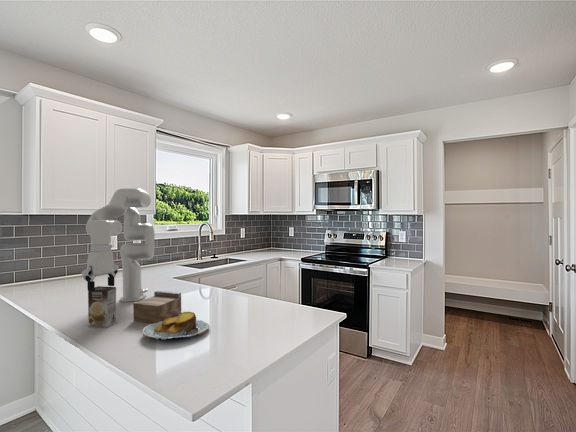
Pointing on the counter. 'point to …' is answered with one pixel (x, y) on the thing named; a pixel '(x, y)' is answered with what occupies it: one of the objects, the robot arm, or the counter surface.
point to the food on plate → (176, 327)
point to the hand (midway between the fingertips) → (101, 288)
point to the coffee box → (102, 307)
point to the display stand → (157, 307)
